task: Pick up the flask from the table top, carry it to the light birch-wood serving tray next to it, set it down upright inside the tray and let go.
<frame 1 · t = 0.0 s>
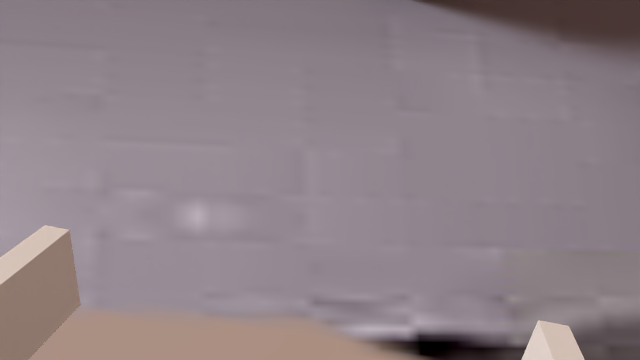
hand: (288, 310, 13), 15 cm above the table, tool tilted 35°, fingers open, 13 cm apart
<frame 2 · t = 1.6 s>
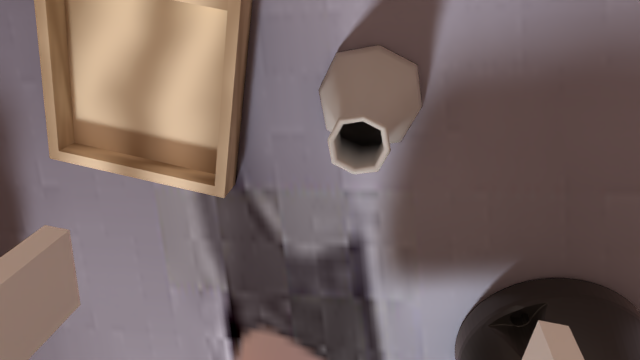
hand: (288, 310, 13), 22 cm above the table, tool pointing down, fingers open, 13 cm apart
flask: (370, 96, 32), on the table
serving tray: (152, 80, 34), on the table
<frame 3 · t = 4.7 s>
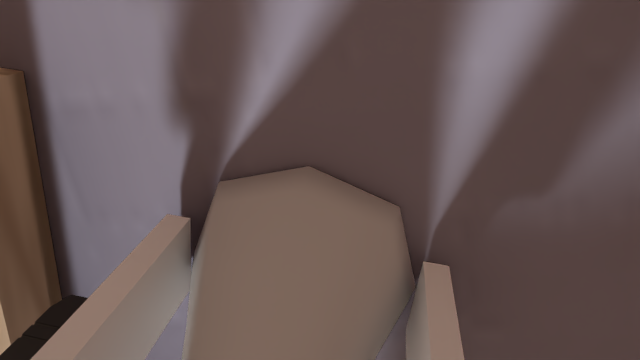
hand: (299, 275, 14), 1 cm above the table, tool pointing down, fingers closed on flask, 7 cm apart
flask: (304, 260, 15), on the table, touching gripper
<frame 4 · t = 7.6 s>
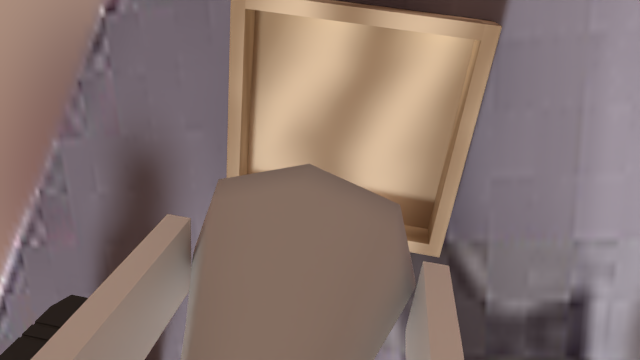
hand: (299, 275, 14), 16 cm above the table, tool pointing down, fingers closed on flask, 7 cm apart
flask: (304, 258, 15), point 15 cm above the table, touching gripper
serving tray: (348, 122, 29), on the table
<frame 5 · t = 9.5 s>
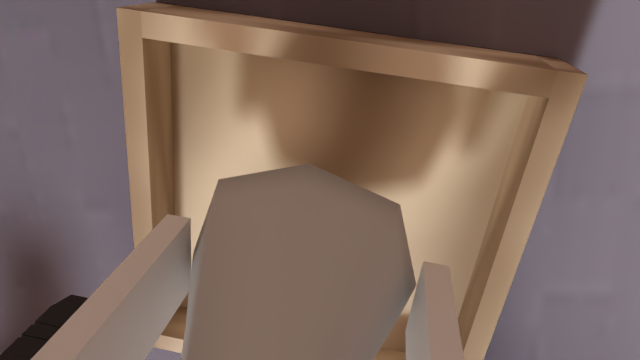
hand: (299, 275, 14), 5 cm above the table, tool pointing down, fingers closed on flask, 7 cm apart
flask: (304, 258, 15), point 4 cm above the table, touching gripper
serving tray: (325, 207, 19), on the table
when the fingers open (3 cm above the table, at t = 10.8 s): flask drops 2 cm, resting on serving tray.
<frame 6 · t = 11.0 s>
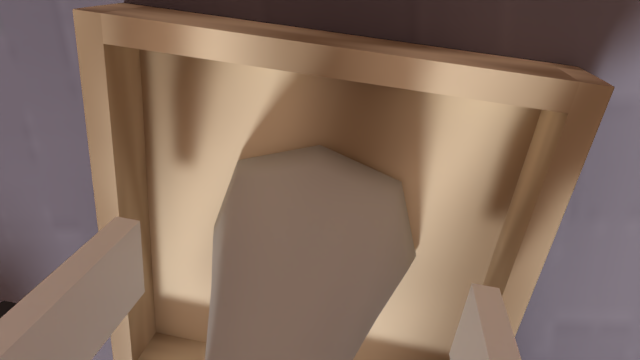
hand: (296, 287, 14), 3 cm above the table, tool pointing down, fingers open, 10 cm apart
flask: (314, 233, 17), resting on serving tray
serving tray: (315, 228, 17), on the table
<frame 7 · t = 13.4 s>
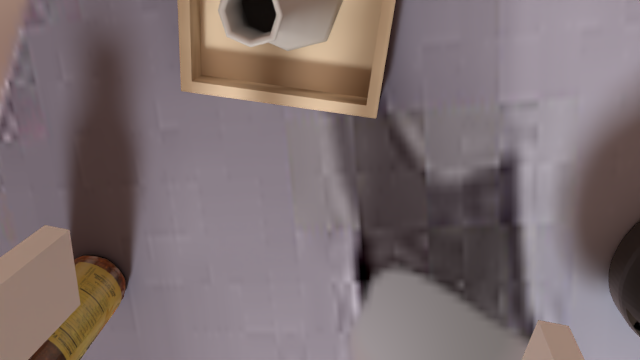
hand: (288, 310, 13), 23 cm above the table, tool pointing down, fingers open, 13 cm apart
sauce bottle: (103, 275, 45), on the table
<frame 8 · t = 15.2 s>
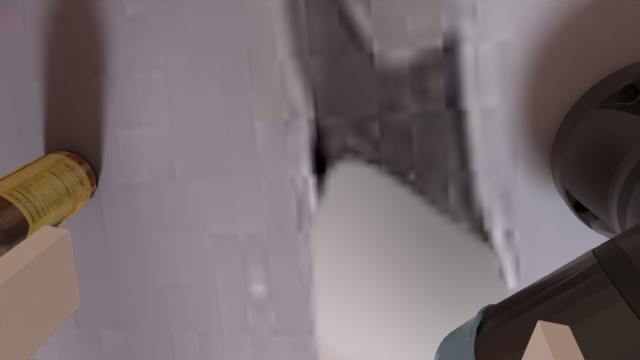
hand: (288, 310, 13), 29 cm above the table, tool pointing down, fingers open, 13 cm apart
sauce bottle: (75, 174, 47), on the table
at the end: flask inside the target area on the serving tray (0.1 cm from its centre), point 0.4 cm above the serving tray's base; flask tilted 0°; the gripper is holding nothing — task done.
